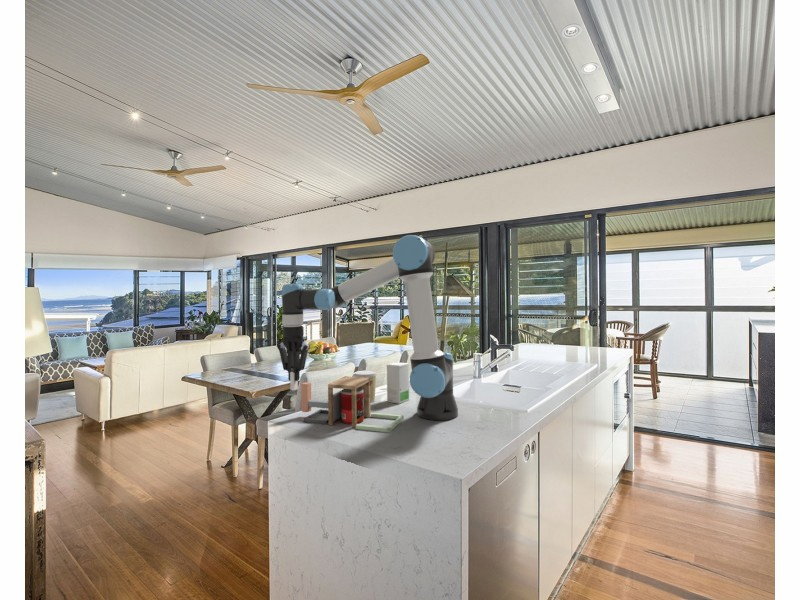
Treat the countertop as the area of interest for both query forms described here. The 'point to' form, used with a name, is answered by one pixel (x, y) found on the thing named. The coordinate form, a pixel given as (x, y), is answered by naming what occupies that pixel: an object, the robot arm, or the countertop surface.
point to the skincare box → (397, 382)
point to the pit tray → (318, 417)
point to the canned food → (347, 405)
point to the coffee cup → (372, 381)
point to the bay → (381, 428)
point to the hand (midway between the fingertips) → (294, 389)
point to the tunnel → (352, 384)
